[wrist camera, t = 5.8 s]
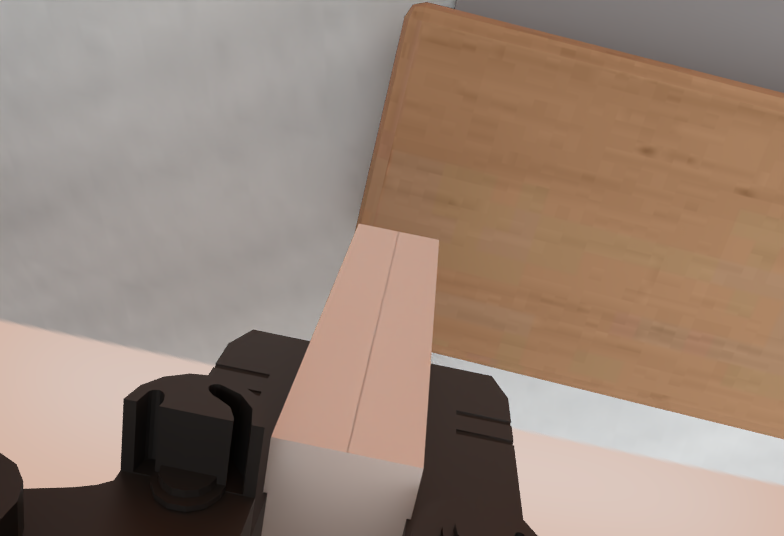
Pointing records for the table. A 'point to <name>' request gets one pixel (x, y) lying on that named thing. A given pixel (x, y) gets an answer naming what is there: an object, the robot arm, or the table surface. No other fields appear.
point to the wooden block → (590, 214)
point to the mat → (664, 31)
